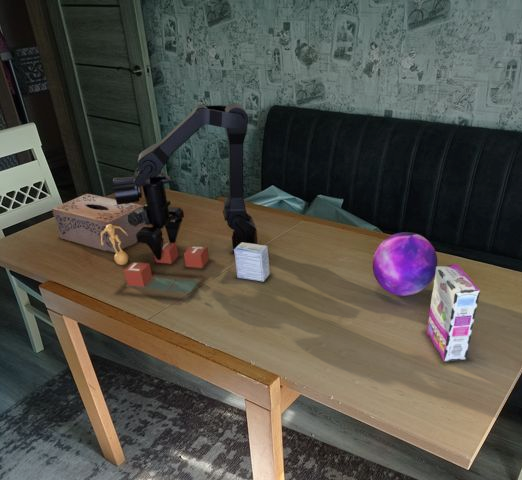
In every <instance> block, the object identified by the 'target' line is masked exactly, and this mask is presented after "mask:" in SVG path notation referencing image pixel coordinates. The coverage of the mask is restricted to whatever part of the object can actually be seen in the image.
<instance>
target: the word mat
mask: <svg viewBox="0 0 522 480" xmlns="http://www.w3.org/2000/svg"><path fill="white" fill-rule="evenodd" d="M151 282H152V283H151ZM198 283H199V281H195V280H184V279H178V280H177V279H175V278H174V279H173V278H163V277H156V278H155V277H153V276H152V279H151V280H150V281H149V282H148V283H147V285H146V286H145V287H138V286H128V285H127V284H126V285H125V287H127V288H139V289H149V290H157V291H158V290H159V291H168V290H169V291H170V292H178V293H179V292H180V293H189V294H190V293H191V292H192V291H193V289H194V288H195V287H196V285H198ZM148 285H149V286H148ZM172 285H173V286H172Z"/></svg>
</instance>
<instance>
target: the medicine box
mask: <svg viewBox="0 0 522 480" xmlns="http://www.w3.org/2000/svg"><path fill="white" fill-rule="evenodd" d="M258 244H259V243H258ZM258 244H251V243H243V242H242V243H240V244H239V245H238V246H237V247H236V248H235V249H233V251H234V252H235V254H234V259H235V260H234V261H235V268H236V277H237V278H238V279H245V280H251V281H257V282H258V281H259V282H263V283H264V282H265V280H266V279H267V278H268V277H269V276H270V275H271V271H270V270H271V269H270V261H269V260H270V259H269V247H268V245H264V244H260V245H258Z"/></svg>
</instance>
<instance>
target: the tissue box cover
mask: <svg viewBox="0 0 522 480" xmlns="http://www.w3.org/2000/svg"><path fill="white" fill-rule="evenodd" d="M143 206H144V205H143V204H138V203H129V204H121V205H117V203H116V199H115V198H111V197H110V198H109V197H105V196H100V195H96V194H91V193H85V194H82V195H80V196H78V197H75V198H73V199H71V200H69V201H66V202H63V203H62V204H59V205H57V206H55V207H53V208H51V211H52V215H53V218H54V220H55V224H56V227H57V230H58V233H59V237H60V239H63V240H66V241H69V242H73V243H76V244H80V245H83V246H87V247H90V248H93V249H97V250H101V251H104V252H111V253H115V254H116V251H115V249H114V248H113V244H112V243H111V241H110V240H109V237H111V236H110V235H109V233H108V232H107V231H106V232H105V233H104V234H103V235H102V236H103V237H102V238H103V241H102V242H103V245H102V244H101V233H102V232H103V231H104V229H105V228H106V226H107V225H108V224H112V225H113V226H119V227H121V228H122V229H123V230H124V231H125V232H126V233H127V235H128V236H127V235H126V233H124V232H123V231H122V230H121V229H120V228H115V236H116V235H118V238H119V239H120V241H121V245H120V247H121V249H122V250H123V249H125V248H127V247H131V246H133V245H136V244H137V243H138V242H137V238H136V234H137V233H138V231H140V230H141V229H142V228H143V227H148V225H145V222H144V223H142V224H139V225H137V226H134V225H130V223H128V216H127V215H128V214H129V213H132V212H133V211H136V210H138V209H141V208H143ZM114 240H115V246H116V247H115V248H116V250H117V251H118V252H119V251H120V249H119V247H118V244H119V242H117V241H116V239H114Z"/></svg>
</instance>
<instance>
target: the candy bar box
mask: <svg viewBox="0 0 522 480" xmlns="http://www.w3.org/2000/svg"><path fill="white" fill-rule="evenodd" d="M480 294H481V289H480V288H479V287H478V285H476V284H475V283H474V281H473V279H471V278H470V276H469V275H468V274H467V273H466V272H465V271H464V270H463V268H462V267H461V266H460V264H447V265H437V267H436V271H435V276H434V278H433V285H432V292H431V299H430V307H429V313H428V319H427V327H426V334H427V336H428V337H429V339H430V341H431V342H432V344H433V345H434V347H435V349H436V350H437V352H438V354H439V356H440V357H441V359H442V361H443V362H452V361H453V362H455V361H463V360H467V357H468V352H469V348H470V347H469V346H470V341H471V337H472V332H473V327H474V322H475V317H476V312H477V307H478V303H479V297H480Z"/></svg>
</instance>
